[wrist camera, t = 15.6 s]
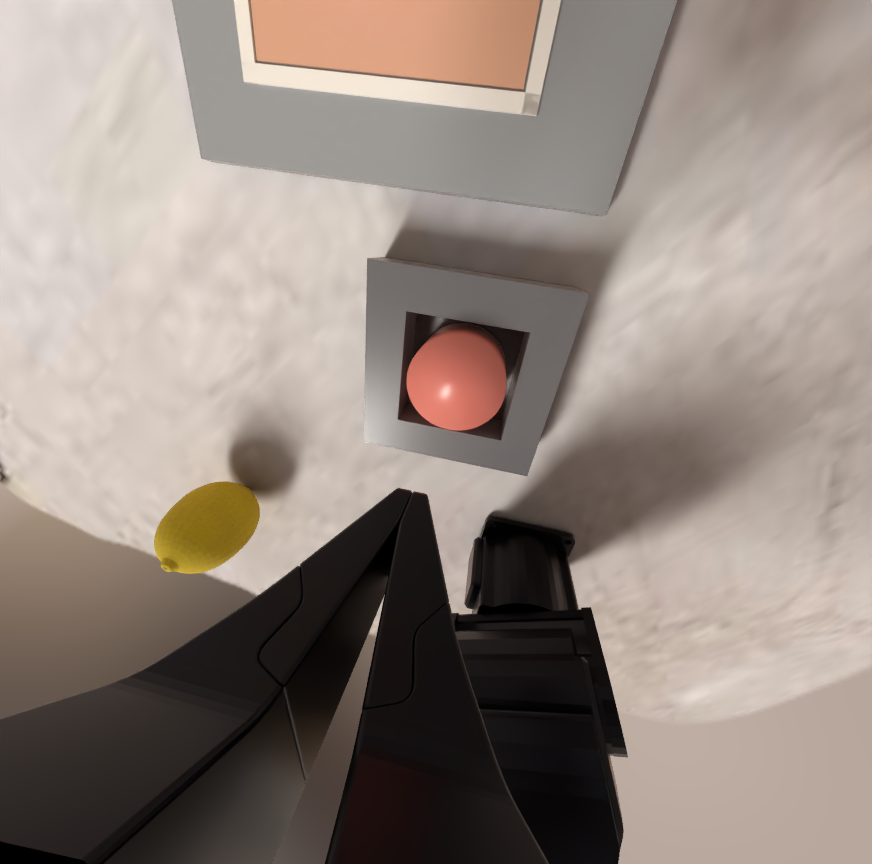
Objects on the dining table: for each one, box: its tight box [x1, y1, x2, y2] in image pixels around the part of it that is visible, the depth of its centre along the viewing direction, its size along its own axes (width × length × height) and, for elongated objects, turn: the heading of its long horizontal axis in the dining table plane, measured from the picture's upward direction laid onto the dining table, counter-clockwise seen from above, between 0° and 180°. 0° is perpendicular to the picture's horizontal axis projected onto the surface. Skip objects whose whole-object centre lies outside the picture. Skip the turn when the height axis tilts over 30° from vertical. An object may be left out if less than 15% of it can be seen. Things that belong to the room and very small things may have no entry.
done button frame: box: [364, 257, 590, 476], centre depth 18 cm, size 10×10×2 cm
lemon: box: [154, 482, 260, 574], centre depth 24 cm, size 6×6×8 cm
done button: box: [407, 323, 506, 430], centre depth 17 cm, size 5×5×3 cm
